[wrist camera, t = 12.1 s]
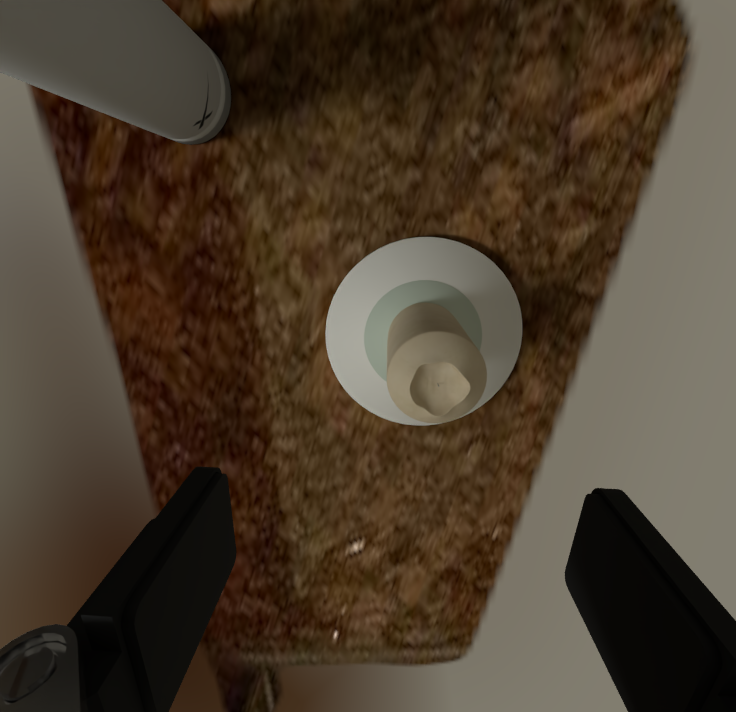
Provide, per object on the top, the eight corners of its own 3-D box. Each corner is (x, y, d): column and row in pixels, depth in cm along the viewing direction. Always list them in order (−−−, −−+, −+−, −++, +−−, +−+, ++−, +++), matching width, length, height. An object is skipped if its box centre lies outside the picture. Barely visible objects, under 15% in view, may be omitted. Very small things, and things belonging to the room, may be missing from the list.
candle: (462, 301, 28) (499, 339, 19) (457, 371, 30) (488, 438, 20) (388, 300, 28) (387, 337, 19) (386, 370, 30) (385, 435, 21)
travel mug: (248, 133, 26) (-121, -106, 7) (159, 153, 27) (-387, -17, 8) (221, 24, 24) (-381, -698, 5) (126, 48, 25) (-704, -511, 6)
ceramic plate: (328, 231, 28) (326, 232, 27) (534, 241, 27) (540, 242, 26) (326, 413, 33) (324, 419, 32) (501, 425, 32) (505, 431, 31)
